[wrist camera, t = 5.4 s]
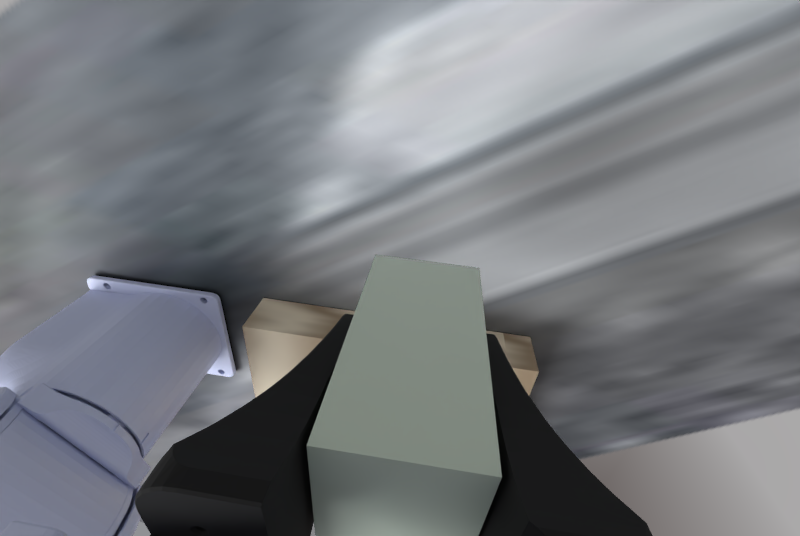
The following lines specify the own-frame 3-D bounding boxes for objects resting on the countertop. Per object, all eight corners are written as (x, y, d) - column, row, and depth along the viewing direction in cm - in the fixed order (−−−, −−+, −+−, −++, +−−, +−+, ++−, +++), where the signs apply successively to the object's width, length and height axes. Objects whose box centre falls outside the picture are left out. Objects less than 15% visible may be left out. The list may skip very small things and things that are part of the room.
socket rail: (276, 394, 31) (260, 426, 28) (263, 297, 25) (242, 326, 23) (496, 430, 30) (500, 467, 27) (530, 337, 24) (539, 371, 22)
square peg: (371, 332, 17) (315, 535, 10) (375, 254, 14) (306, 445, 8) (462, 345, 16) (467, 562, 10) (479, 268, 14) (502, 477, 7)
